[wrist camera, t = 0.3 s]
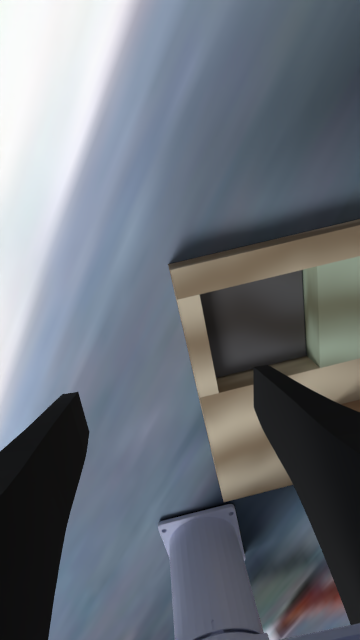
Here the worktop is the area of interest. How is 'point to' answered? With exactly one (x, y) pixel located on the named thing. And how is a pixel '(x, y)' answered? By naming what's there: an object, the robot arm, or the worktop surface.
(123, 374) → the worktop surface
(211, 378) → the trap deck
